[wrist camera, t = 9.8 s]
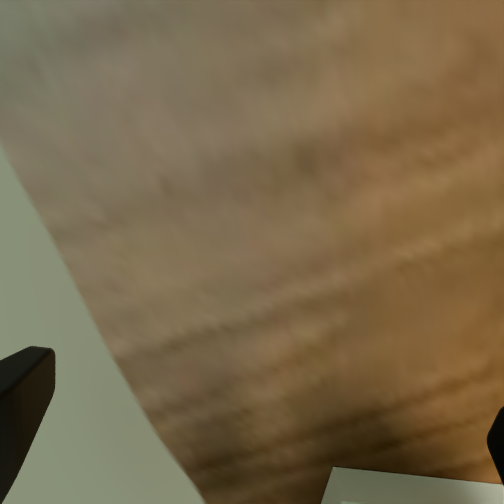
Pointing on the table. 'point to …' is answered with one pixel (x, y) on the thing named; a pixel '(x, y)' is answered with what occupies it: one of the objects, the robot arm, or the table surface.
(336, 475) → the pedestal
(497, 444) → the robot arm
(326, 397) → the table surface
